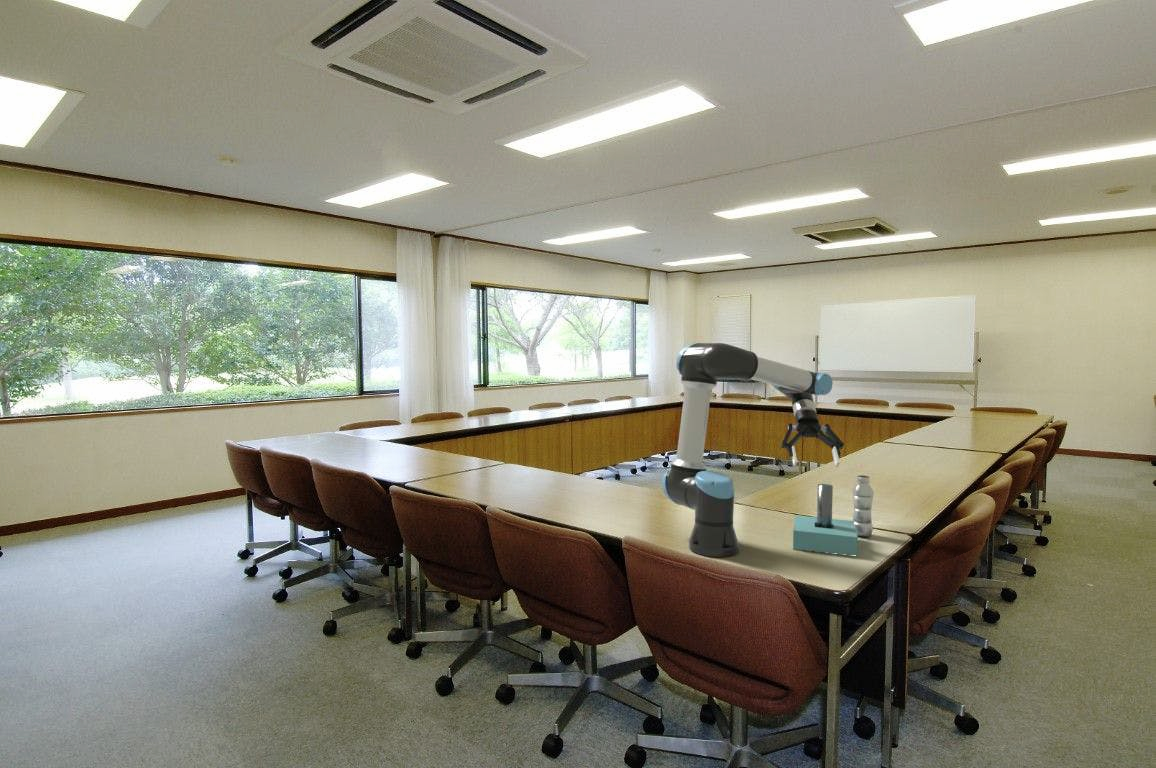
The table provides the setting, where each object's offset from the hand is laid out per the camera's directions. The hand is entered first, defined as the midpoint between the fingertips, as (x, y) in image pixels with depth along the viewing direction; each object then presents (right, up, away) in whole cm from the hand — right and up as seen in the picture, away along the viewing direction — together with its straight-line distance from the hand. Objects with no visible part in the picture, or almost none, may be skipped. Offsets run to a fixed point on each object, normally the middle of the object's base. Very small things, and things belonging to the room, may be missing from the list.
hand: (816, 464), depth 192 cm
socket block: (-1, -24, -9) cm, 26 cm away
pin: (-1, -23, -9) cm, 25 cm away
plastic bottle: (+15, -24, 0) cm, 28 cm away
